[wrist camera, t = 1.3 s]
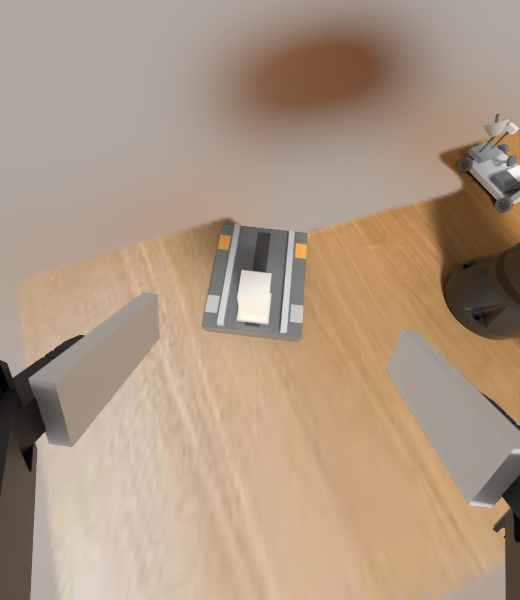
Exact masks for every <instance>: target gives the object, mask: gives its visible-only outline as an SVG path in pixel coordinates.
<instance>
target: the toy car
mask: <svg viewBox="0 0 520 600" xmlns="http://www.w3.org/2000/svg"><path fill="white" fill-rule="evenodd" d="M498 116H499V114H496V120H495V122H493V123H490V124H486V125H484V128H485V130H486V132H487V133H488V134H489V135H490V136H492V138H491V139H490V140H489V141H488V142H486V143H483V144H480V145H478V146H475V147H472V148H470V149H469V150H468V151H467V153H468V154H469V155H470V156H471V157H472V158H473V159H474V160H472V159H471V158H470V157H465V158H462V159H461V160H460V161H459V162H458V164H457V168H458V169H459V170H460V171H461V172H466V171H469V172H470V173H471V174H472V175H473V176H474V177H475V178H476V179H477V180H478V181H479V182H480V183H481V184H482V185H483V186H484V187H485V188H486V189H487V190H488V192H489V193H490V194H491V195H492V196H493V197H494V198H495V199H496V200H497V201H496V203H495V205H494V207H495V208H496V209H497V210H498V211H499V212H500V213H504V212H507V211H509V210H510V209H511V208H512V207H513V204H515V203H518V202H520V165H519V166H517V165H516V164H515V163H516V160H517V157H516V156H510V157H507V156H506V155H507V154H508V152H509V147H508V146H507V145H505V144H502V145H499V146H497V147H496V145H497V144H498V143H499V142H500V141H501V140H502V139H503V138H504V137H505V136H506V135H507V134H508V133H510V134H514V133H515V132H516V131H517V130H518V129H519V128H518V127H517V126H516V125H515V124H513V123H508V121H509V119H505V120H500V121H498ZM505 126H506V127H505ZM503 129H505V130H506V131H507V132H506V133H505V134H504V135H503V136H502V138H501V139H500V140H499V141H498V142H497V143H496V144H495V145H494V144H493V143H492V142H491V141H492V140H493V139H494V138H495V137H496V136H497V135H498V134H499V133H500V132H501V131H502V130H503ZM466 162H467V163H466Z"/></svg>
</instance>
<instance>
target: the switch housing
mask: <svg viewBox="0 0 520 600" xmlns="http://www.w3.org/2000/svg"><path fill="white" fill-rule="evenodd" d="M306 249H307V233H300V232H295V230H289V231H282V230H273V229H264V228H255V227H246V226H241V225H240V224H236V223H235V225H229V224H223V225H222V230H221V235H220V239H219V244H218V250H217V255H216V259H215V264H214V269H213V274H212V279H211V284H210V289H209V294H208V298H207V303H206V308H205V313H204V318H203V323H202V327H203V329H204V330H205V331H211V332H220V333H228V334H236V335H245V336H253V337H261V338H270V339H278V340H286V341H295V342H298V341H299V340H300V339H301V335H302V319H303V300H304V282H305V265H306ZM242 270H246V271H255V272H263V273H272V275H271V284H270V293H272V294H271V304H270V313H269V322H268V325H267V324H258V323H250V322H242V321H237V314H238V307H239V306H238V300H237V296H238V290H239V283H240V277H241V271H242Z"/></svg>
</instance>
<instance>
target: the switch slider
mask: <svg viewBox="0 0 520 600" xmlns="http://www.w3.org/2000/svg"><path fill="white" fill-rule="evenodd" d="M271 275H272V273H263V272H255V271H246V270H242V271H241V277H240V283H239V290H238V296H237V300H238V306H239V307H238V314H237V321H242V322H250V323H258V324H267V325H268V322H269V313H270V304H271V294H272V293H270V284H271Z"/></svg>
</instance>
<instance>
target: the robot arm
mask: <svg viewBox="0 0 520 600" xmlns="http://www.w3.org/2000/svg"><path fill="white" fill-rule="evenodd" d="M444 294H445V299H446V302H447V304H448V307H449V309H450V310H451V312H452V313H453V315H454V316H455V317H456V319H457V320H458V321H459V322H460V323H461V324H462V325H464V326H465V327H466V328H467V329H469V330H470V331H472V332H474V333H475V334H477V335H480V336H482V337H485V338H488V339H494V340H506V339H511V338H515V337H520V243H518V244H516V245H514V246H513V247H511V248H509V249H507V250H505V251H504V252H500V253H496V254H492V255H487V256H483V257H479V258H475V259H471V260H468V261H466V262H464V263H462V264H461V265H459V266H457V267H456V268H454V269H453V270H452V271H451V272H450V273H449V274H448V276H447V278H446V281H445V285H444ZM158 340H159V314H158V294H152V293H145V292H143V293H142V294H140V295H139V296H138V297H136V298H135V299H134V300H132V301H131V302H130V303H128V304H127V305H126V306H124V307H123V308H122V309H120V310H119V311H118V312H116V313H115V314H114V315H112V316H111V317H110V318H108V319H107V320H106V321H104V322H103V323H102V324H100V325H99V326H98V327H96V328H95V329H94V330H92V331H91V332H90V333H88V334H87V335H86V336H84V335H79V336H76V337H74V338H71V339H69V340H67V341H65V342H63V343H62V344H61V345H59V346H58V347H56V348H55V349H54V351H51V352H49V353H48V354H46V355H45V357H44V358H43V357H42V358H41V359H39V360H38V361H36V362H35V363H34V364H32V365H31V366H29V367H28V368H26V369H25V370H24V371H22V372H21V373H19V374H18V375H16V376H15V377H14V378H12V376H11V373H10V370H9V367H8V364H7V363H6V362H4V361H1V360H0V600H30V591H31V571H32V550H33V549H32V548H33V529H34V528H33V527H34V507H35V484H36V464H37V447H36V444H35V442H36V441H37V439H38V438H39V437H40V436H41V435H42V434H43V433H44V432H46V436H47V439H48V442H49V444H53V445H60V446H67V447H73V446H74V444H75V443H76V442H77V441H78V439H79V438H80V437H81V436H82V434H83V433H84V432H85V431H86V429H87V428H88V427H89V426H90V424H91V423H92V422H93V421H94V419H95V418H96V417H97V416H98V414H99V413H100V412H101V411H102V409H103V408H104V407H105V406H106V404H107V403H108V402H109V401H110V399H111V398H112V397H113V396H114V394H115V393H116V392H117V391H118V389H119V388H120V387H121V386H122V384H123V383H124V382H125V381H126V379H127V378H128V377H129V376H130V374H131V373H132V372H133V371H134V369H135V368H136V367H137V366H138V364H139V363H140V362H141V361H142V359H143V358H144V357H145V356H146V355H147V353H148V352H149V351H150V350H151V348H152V347H153V346H154V345H155V343H156V342H157V341H158ZM386 372H387V373H388V375H389V377H390V378H391V380H392V381H393V383H394V385H395V386H396V388H397V389H398V391H399V393H400V394H401V396H402V398H403V399H404V401H405V402H406V404H407V406H408V407H409V409H410V410H411V412H412V414H413V415H414V417H415V419H416V420H417V422H418V423H419V425H420V427H421V428H422V430H423V432H424V433H425V435H426V436H427V438H428V440H429V441H430V443H431V444H432V446H433V448H434V449H435V451H436V453H437V454H438V456H439V457H440V459H441V461H442V462H443V464H444V466H445V467H446V469H447V470H448V472H449V474H450V475H451V477H452V478H453V480H454V482H455V483H456V485H457V487H458V488H459V490H460V491H461V493H462V495H463V496H464V498H465V499H466V501H467V503H468V504H469V505H475V506H482V507H489V508H492V507H493V506H494V505H495V504H496V503H497V502H498V501H499V499H500V498H501V497H503V498H504V499H505V501H506V502H507V504H508V505H509V506H510V509H509V510H508V511H507V512H506V513H505V514H504V515H503V516H502V517H501V519H500V520H499V521H498V522H497V523H496V524H495V525H494V528H493V530H494V531H496V532H498V531H499V530H500V529H501V528H505V536H504V538H505V560H506V600H520V426H519V425H516V422H515V421H514V420H513V419H512V418H511V417H510V416H509V415H506V412H505V411H504V410H503V409H501V408H500V407H499V406H498V405H497V404H496V403H495V402H494V401H493V400H491V399H490V398H488V397H487V396H485V395H484V394H482V393H481V392H480V391H478V390H477V389H476V388H475V387H474V386H473V385H472V384H471V383H470V382H469V381H468V380H467V379H466V378H465V377H464V376H463V375H462V374H461V373H460V372H459V371H458V370H457V369H456V368H455V367H454V366H452V365H451V364H450V363H449V362H448V361H447V360H446V359H445V358H444V357H443V356H442V355H441V354H440V353H439V352H438V351H437V350H436V349H435V348H434V347H433V346H432V345H431V344H430V343H429V342H428V341H427V340H426V339H425V338H424V337H423V336H422V335H421V334H420V333H419V332H418V331H411V330H404V329H403V331H402V334H401V336H400V338H399V341H398V343H397V345H396V348H395V350H394V353H393V355H392V357H391V360H390V362H389V364H388V367H387V369H386Z"/></svg>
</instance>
